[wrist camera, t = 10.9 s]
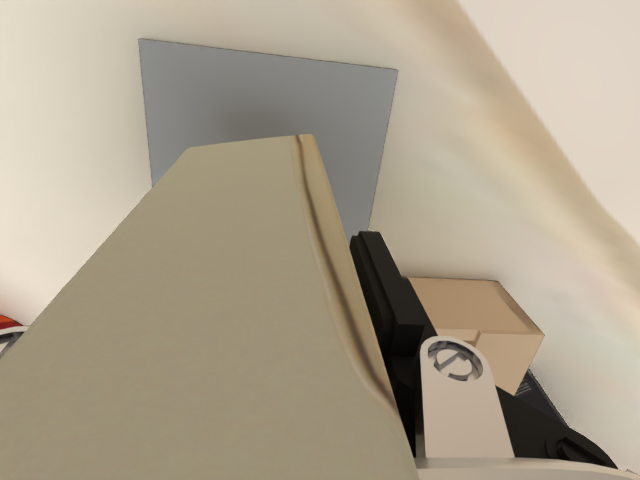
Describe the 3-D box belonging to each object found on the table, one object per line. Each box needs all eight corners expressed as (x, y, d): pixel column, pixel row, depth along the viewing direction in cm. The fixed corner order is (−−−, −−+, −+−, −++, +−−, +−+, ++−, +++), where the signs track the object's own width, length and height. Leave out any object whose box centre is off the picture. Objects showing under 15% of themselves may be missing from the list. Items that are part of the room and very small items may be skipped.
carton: (497, 281, 26) (644, 449, 16) (432, 446, 34) (498, 628, 24) (166, 265, 23) (71, 459, 13) (182, 450, 32) (133, 659, 21)
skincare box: (330, 284, 15) (455, 862, 5) (218, 300, 15) (83, 940, 4) (313, 123, 12) (563, 744, 2) (172, 141, 12) (-603, 972, 1)
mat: (395, 69, 19) (398, 70, 19) (362, 244, 24) (363, 248, 23) (141, 38, 17) (138, 38, 17) (159, 233, 22) (157, 237, 22)
